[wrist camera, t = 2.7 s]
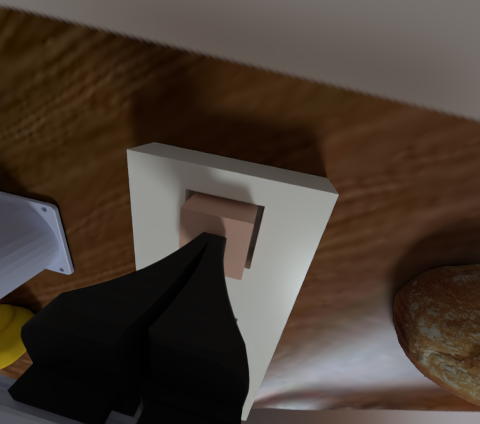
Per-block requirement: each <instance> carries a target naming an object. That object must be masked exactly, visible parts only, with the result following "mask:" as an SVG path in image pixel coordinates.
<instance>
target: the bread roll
mask: <svg viewBox="0 0 480 424" xmlns="http://www.w3.org/2000/svg"><path fill="white" fill-rule="evenodd" d="M394 302H395V303H394V305H393V306H394V311H393V314H394V327H395V331H396V334H397V337H398V341H399V343H400V345H401V347H402V349H403V350H404V352H405V354H406V356H407V357H408V358H409V359H410V361H411V362H412V363H413V364H414V365H415V367H416V368H417V369H418V370H419V371H420V372H421V373H422V374H423V375H424V376H425V377H427V378H429V379H430V380H432V381H433V382H435V383H436V384H437V385H439V386H440V387H442V388H443V389H445V390H446V391H448V392H450V393H452V394H454V395H456V396H458V397H460V398H462V399H464V400H466V401H468V402H470V403H473V404H475V405H478V406H480V264H470V265H461V266H442V267H438V268H435V269H430V270H427V271H425V272H423V273H421V274H419V275H417V276H416V277H414V278H413V279H411V280H410V281H409V282H408V283H407V284H406V285H404V286H403V287H402V288H401V289H400V290H399V292H398V293H397V294H396V296H395V299H394Z"/></svg>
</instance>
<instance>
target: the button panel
mask: <svg viewBox="0 0 480 424" xmlns="http://www.w3.org/2000/svg"><path fill="white" fill-rule="evenodd" d="M127 159H128V172H129V184H130V197H131V210H132V222H133V235H134V247H135V260H136V271H137V270H140V269H142V268H145V267H147V266H149V265H151V264H153V263H155V262H157V261H159V260H161V259H163V258H165V257H166V256H168V255H170V254H171V253H173V252H175V251H176V250H178V249H179V235H180V210H181V206H182V205H183V204H184V203H185V202H186V201H187V200H189V199H190V198H191V197H192V196H193V195H194V194H195V193H196V192H200V193H204V194H209V195H213V196H218V197H222V198H227V199H231V200H236V201H240V202H245V203H249V204H254V205H258V209H257V213H256V218H255V222H254V227H253V231H252V236H251V240H250V244H249V249H248V253H247V258H246V262H245V266H244V271H243V275H242V280H237V279H233V278H229V277H225V281H226V286H227V291H228V296H229V300H230V303H231V306H232V310H233V313H234V316H235V319H236V322H237V325H238V327H239V330H240V332H241V335H242V337H243V339H244V342H245V345H246V351H247V358H248V365H249V378H250V382H249V392H248V395H247V398H246V401H245V403H244V406H243V410H242V418H241V420H245V421H246V419H247V417H248V414H249V411H250V409H251V407H252V404H253V402H254V399H255V397H256V395H257V392H258V390H259V387H260V385H261V382H262V380H263V378H264V375H265V373H266V370H267V368H268V365H269V363H270V361H271V358H272V356H273V353H274V351H275V348H276V346H277V344H278V341H279V339H280V336H281V334H282V331H283V329H284V326H285V324H286V322H287V319H288V317H289V314H290V312H291V309H292V307H293V305H294V302H295V300H296V297H297V295H298V292H299V290H300V288H301V285H302V283H303V280H304V278H305V275H306V273H307V271H308V268H309V266H310V263H311V261H312V258H313V256H314V253H315V251H316V249H317V246H318V244H319V241H320V239H321V236H322V234H323V232H324V229H325V227H326V224H327V222H328V219H329V217H330V215H331V212H332V210H333V207H334V205H335V202H336V200H337V198H338V195H339V194H338V193H337V191H336V190H335V188H334V187H333V185H332V184H331V183H330V181H329V180H328V178H325V177H320V176H315V175H310V174H305V173H301V172H296V171H291V170H286V169H281V168H277V167H272V166H267V165H262V164H257V163H252V162H248V161H243V160H238V159H233V158H228V157H223V156H219V155H214V154H209V153H204V152H199V151H195V150H190V149H185V148H180V147H175V146H170V145H166V144H161V143H156V142H153V143H149V144H145V145H142V146H138V147H134V148H130V149H127Z"/></svg>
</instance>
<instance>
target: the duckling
mask: <svg viewBox="0 0 480 424" xmlns="http://www.w3.org/2000/svg"><path fill="white" fill-rule="evenodd" d="M33 316H34V313H33V312H32V311H30V310H29V309H26V308H23V307H18V306H13V305H9V304H0V369H2V368H4V367H6V366H8V365H10V364H11V363H13V362H14V361H15V360H17V359H18V358H19V357H20V356H21V355H22V354H23V353H24V352H25V351H26V348H25V346H24V344H23V342H22V339H21V336H20V335H21V327H22V326H23V325H24V324H25V323H26V322H27V321H28V320H30V319H31V318H32V317H33Z"/></svg>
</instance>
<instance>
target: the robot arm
mask: <svg viewBox="0 0 480 424" xmlns="http://www.w3.org/2000/svg"><path fill="white" fill-rule="evenodd" d="M226 241H227V239H226V237H223V236H219V235H215V234H211V233H207V232H203V233H201V234H200V235H198V236H197V237H196V238H194V239H193V240H191V241H190V242H188V243H187V244H186V245H184V246H182V247H181V248H179V249H178V250H176V251H175V252H173V253H171V254H170V255H168V256H166V257H165V258H163V259H161V260H159V261H157V262H155V263H153V264H151V265H149V266H147V267H145V268H142V269H140V270H137V271H135V272H132V273H130V274H127V275H124V276H122V277H119V278H116V279H113V280H110V281H106V282H103V283H100V284H96V285H93V286H89V287H84V288H80V289H76V290H72V291H68V292H63V293H61V294H60V295H58V296H57V297H56V298H55V299H54V300H52V301H51V302H50V303H49V304H47V305H46V306H45V307H44V308H43V309H42V310H40V311H39V312H38V313H37V314H36V315H34V316H33V317H32V318H31V319H30V320H28V321H27V322H26V323H25V324H24V325H23V326H22V327H21V335H20V336H21V339H22V342H23V344H24V346H25V348H26V350H27V352H28V354H29V356H30V358H31V360H32V362H33V364H32V365H31V366H30V367H29V368H28V369H27V370H26V371H25V372H24V373H23V374H22V376H21V377H20V378H19V379H18V380H16V379H12V378H9V377H6V376H3V375H0V424H241V418H242V410H243V406H244V403H245V401H246V398H247V395H248V392H249V382H250V378H249V365H248V358H247V351H246V345H245V342H244V339H243V337H242V335H241V332H240V330H239V327H238V325H237V322H236V319H235V316H234V313H233V310H232V306H231V303H230V300H229V296H228V291H227V286H226V281H225V273H224V253H225V247H226ZM44 269H49V270H53V271H56V272H60V273H64V274H68V275H69V274H71V273H73V271H74V269H73V265H72V262H71V258H70V254H69V250H68V246H67V242H66V238H65V235H64V231H63V227H62V223H61V219H60V215H59V211H58V208H57V207H56V206H55V205H53V204H50V203H46V202H42V201H38V200H34V199H30V198H25V197H21V196H17V195H13V194H9V193H5V192H0V299H1V298H3V297H4V296H5V295H7V294H8V293H10V292H11V291H13V290H14V289H16V288H17V287H19V286H20V285H22V284H23V283H25V282H26V281H28V280H29V279H31V278H32V277H33V276H35V275H36V274H38V273H39V272H41V271H42V270H44Z"/></svg>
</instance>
